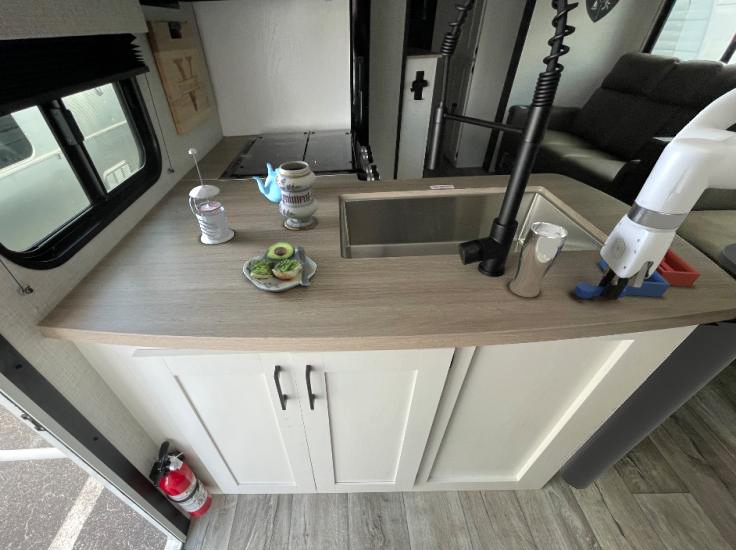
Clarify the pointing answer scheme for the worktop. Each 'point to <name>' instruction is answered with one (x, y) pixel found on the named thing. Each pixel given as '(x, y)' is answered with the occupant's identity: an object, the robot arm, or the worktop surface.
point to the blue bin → (646, 285)
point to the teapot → (270, 185)
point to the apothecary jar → (297, 194)
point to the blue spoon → (592, 290)
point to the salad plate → (280, 268)
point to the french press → (210, 213)
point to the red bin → (678, 270)
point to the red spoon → (665, 265)
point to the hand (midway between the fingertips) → (606, 294)
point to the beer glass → (537, 257)
